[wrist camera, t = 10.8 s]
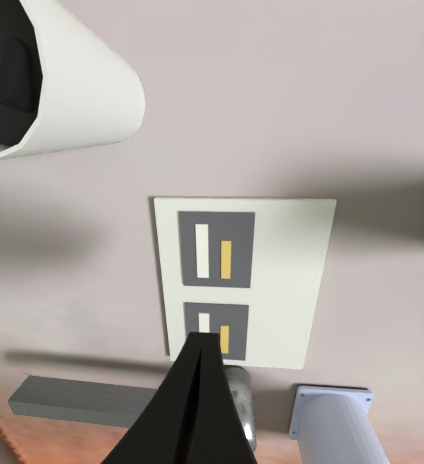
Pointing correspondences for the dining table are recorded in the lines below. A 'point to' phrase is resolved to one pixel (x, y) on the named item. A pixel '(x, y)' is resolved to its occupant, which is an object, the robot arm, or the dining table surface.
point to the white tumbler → (61, 83)
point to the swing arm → (113, 401)
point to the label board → (243, 273)
